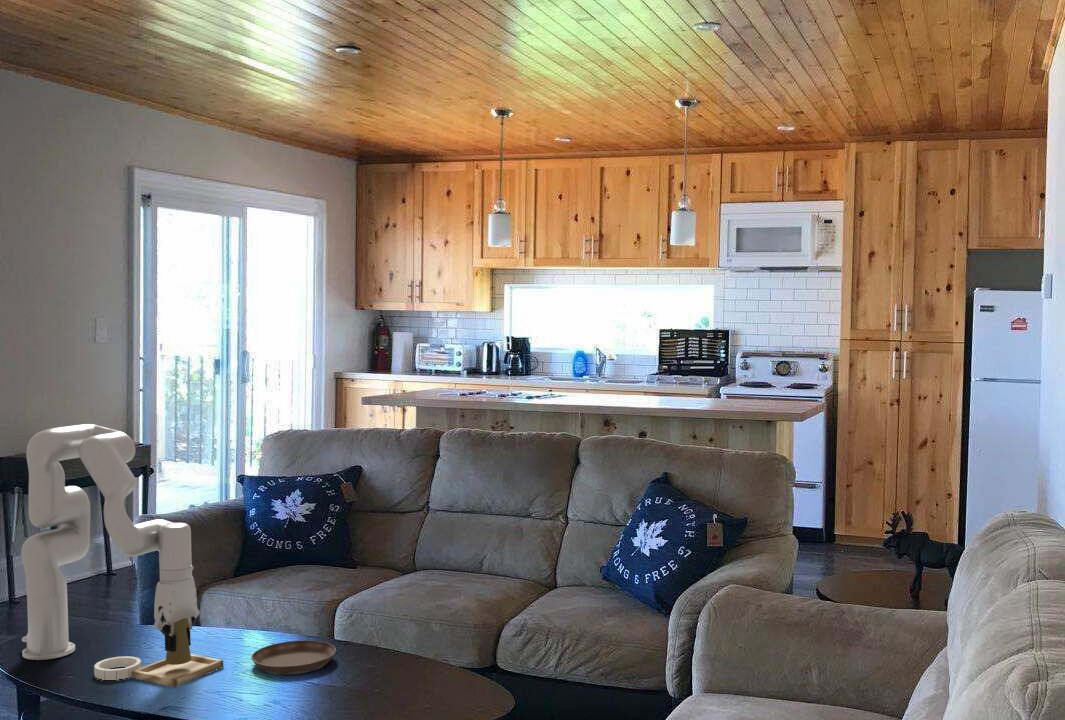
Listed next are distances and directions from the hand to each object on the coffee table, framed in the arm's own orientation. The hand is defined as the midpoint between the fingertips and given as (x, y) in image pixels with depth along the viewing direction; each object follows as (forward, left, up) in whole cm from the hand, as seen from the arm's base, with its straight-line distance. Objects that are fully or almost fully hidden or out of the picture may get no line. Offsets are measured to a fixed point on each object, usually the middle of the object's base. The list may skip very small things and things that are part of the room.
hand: (177, 647), depth 266 cm
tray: (0, 0, -6) cm, 6 cm away
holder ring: (-13, -7, -6) cm, 16 cm away
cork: (0, 0, -3) cm, 3 cm away
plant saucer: (+21, +18, -7) cm, 29 cm away
